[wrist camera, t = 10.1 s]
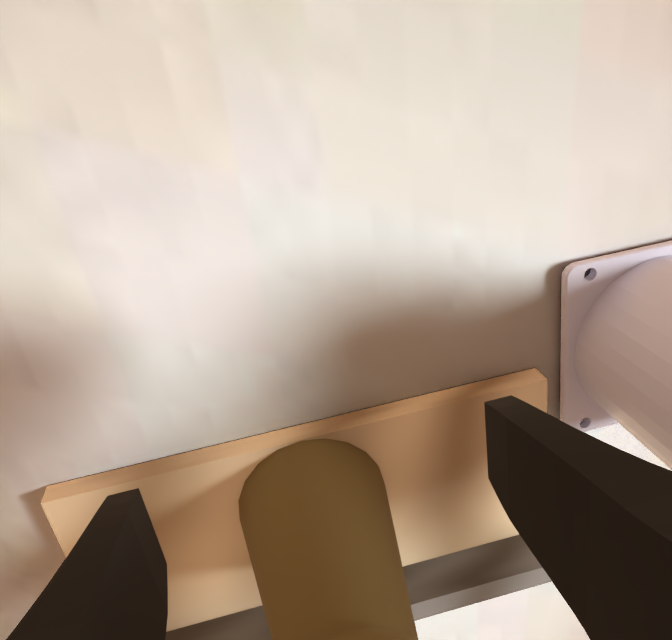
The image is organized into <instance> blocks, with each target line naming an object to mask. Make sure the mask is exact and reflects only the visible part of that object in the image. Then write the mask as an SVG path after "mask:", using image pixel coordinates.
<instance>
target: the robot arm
mask: <svg viewBox="0 0 672 640" xmlns="http://www.w3.org/2000/svg"><path fill="white" fill-rule="evenodd" d="M589 268H591V271H590V274H589V275H588V276H586V277H584V274H585V272H586V271H587V269H589ZM484 408H485V426H486V445H487V464H488V479H489V481H490V483H491V485H492V487H493V489H494V491H495V493H496V495H497V497H498V499H499V501H500V503H501V505H502V506H503V508H504V510H505V512H506V514H507V516H508V518H509V519H510V521H511V523H512V524H513V525H514V527H515V528H516V530H517V531H518V533H519V534H520V536H521V537H522V539H523V540H524V542H525V543H526V545H527V546H528V547H529V549H530V550H531V552H532V553H533V555H534V556H535V558H536V559H537V560H538V562H539V563H540V565H541V566H542V568H543V569H544V570H545V572H546V573H547V575H548V576H549V578H550V579H551V580H552V582H553V583H554V585H555V586H556V588H557V589H558V591H559V592H560V593H561V595H562V596H563V598H564V599H565V601H566V602H567V603H568V605H569V606H570V608H571V609H572V611H573V612H574V614H575V615H576V617H577V619H578V620H579V622H580V623H581V625H582V626H583V628H584V629H585V631H586V633H587V635H588V636H589V638H590V640H672V471H670V470H667V469H665V468H662V467H660V466H657V465H655V464H652V463H650V462H647V461H645V460H643V459H640V458H638V457H636V456H634V455H631V454H629V453H627V452H624V451H622V450H620V449H618V448H615V447H613V446H611V445H609V444H607V443H605V442H603V441H600V440H598V439H596V438H594V437H592V436H590V435H588V434H586V433H584V432H585V431H589V430H593V429H596V428H600V427H604V426H608V425H612V424H616V423H619V424H621V425H622V426H623V427H624V428H625V429H626V430H627V431H628V432H630V433H631V434H632V435H633V436H634V437H635V438H636V439H637V440H639V441H640V442H641V443H642V444H643V445H644V446H645V447H647V448H648V449H649V450H650V451H651V452H652V453H653V454H654V455H656V456H657V457H658V458H659V459H660V460H661V461H662V462H663V463H665V464H666V465H667V466H668V467H669V468H670V469H671V470H672V240H671V241H667V242H662V243H658V244H653V245H649V246H644V247H640V248H635V249H631V250H626V251H622V252H617V253H613V254H608V255H604V256H599V257H595V258H590V259H586V260H581V261H577V262H573V263H571V264H569V265H568V266H566V267H565V269H564V271H563V272H562V287H561V366H560V420H559V419H557V418H555V417H553V416H551V415H549V414H547V413H546V412H544V411H542V410H540V409H538V408H536V407H534V406H532V405H530V404H528V403H526V402H524V401H522V400H520V399H518V398H516V397H514V396H512V395H510V396H506V397H502V398H498V399H494V400H490V401H486V402H484ZM584 418H585V420H584V421H583V422H581V420H582V419H584ZM580 422H581V423H580ZM167 618H168V581H167V562H166V559H165V557H164V554H163V551H162V549H161V546H160V543H159V541H158V538H157V535H156V533H155V530H154V527H153V525H152V522H151V519H150V517H149V514H148V511H147V509H146V506H145V503H144V501H143V498H142V495H141V493H140V490H139V488H137V489H133V490H129V491H124V492H120V493H116V494H112V495H108V496H107V497H106V499H105V500H104V502H103V503H102V504H101V506H100V507H99V509H98V510H97V512H96V513H95V515H94V516H93V518H92V519H91V521H90V522H89V524H88V526H87V527H86V529H85V530H84V532H83V533H82V535H81V536H80V538H79V539H78V541H77V542H76V544H75V545H74V547H73V548H72V550H71V551H70V553H69V554H68V556H67V557H66V559H65V560H64V562H63V563H62V565H61V566H60V568H59V569H58V570H57V572H56V573H55V575H54V576H53V578H52V579H51V581H50V582H49V584H48V585H47V586H46V588H45V589H44V591H43V592H42V593H41V595H40V596H39V597H38V599H37V600H36V601H35V603H34V604H33V605H32V607H31V608H30V609H29V611H28V612H27V613H26V615H25V616H24V617H23V619H22V620H21V621H20V623H19V624H18V625H17V627H16V628H15V629H14V630H13V632H12V633H11V634H10V635H9V637H8V638H7V639H6V640H165V638H166V628H167Z"/></svg>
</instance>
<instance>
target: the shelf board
mask: <svg viewBox="0 0 672 640" xmlns="http://www.w3.org/2000/svg"><path fill="white" fill-rule="evenodd" d="M510 395H512V396H514V397H516V398H518V399H520V400H522V401H524V402H526V403H528V404H530V405H532V406H534V407H536V408H538V409H540V410H542V411H544V412H546V413H547V378H546V377H545V376H543V375H542V374H541V373H540V372H539V371H538V370H537V369H536V368H532V369H528V370H524V371H520V372H516V373H512V374H508V375H503V376H499V377H495V378H491V379H487V380H483V381H479V382H475V383H470V384H466V385H462V386H458V387H454V388H450V389H446V390H441V391H437V392H433V393H429V394H425V395H421V396H417V397H413V398H408V399H404V400H400V401H396V402H392V403H388V404H384V405H380V406H375V407H371V408H367V409H363V410H359V411H355V412H351V413H347V414H342V415H338V416H334V417H330V418H326V419H322V420H318V421H314V422H309V423H305V424H301V425H297V426H293V427H289V428H285V429H281V430H276V431H272V432H268V433H264V434H260V435H256V436H252V437H247V438H243V439H239V440H235V441H231V442H227V443H223V444H219V445H214V446H210V447H206V448H202V449H198V450H194V451H190V452H186V453H181V454H177V455H173V456H169V457H165V458H161V459H157V460H153V461H148V462H144V463H140V464H136V465H132V466H128V467H124V468H120V469H115V470H111V471H107V472H103V473H99V474H95V475H91V476H87V477H82V478H78V479H74V480H70V481H66V482H62V483H58V484H53V485H49V486H47V487H46V490H45V493H44V495H43V498H42V501H41V503H40V504H41V506H42V508H43V510H44V512H45V515H46V517H47V519H48V521H49V523H50V525H51V527H52V529H53V532H54V534H55V536H56V538H57V540H58V542H59V544H60V547H61V549H62V551H63V553H64V555H65V557H67V556H68V554H69V553H70V551H71V550H72V548H73V547H74V545H75V544H76V542H77V541H78V539H79V538H80V536H81V535H82V533H83V532H84V530H85V529H86V527H87V526H88V524H89V522H90V521H91V519H92V518H93V516H94V515H95V513H96V512H97V510H98V509H99V507H100V506H101V504H102V503H103V502H104V500H105V499H106V497H107V496H108V495H112V494H116V493H120V492H124V491H129V490H133V489H137V488H139V490H140V493H141V495H142V498H143V501H144V503H145V506H146V509H147V511H148V514H149V517H150V519H151V522H152V525H153V527H154V530H155V533H156V535H157V538H158V541H159V543H160V546H161V549H162V551H163V554H164V557H165V559H166V562H167V581H168V618H167V628H166V638H165V640H272V638H271V634H270V631H269V627H268V623H267V619H266V616H265V612H264V608H263V605H262V601H261V597H260V593H259V590H258V586H257V582H256V578H255V575H254V571H253V567H252V564H251V560H250V556H249V552H248V549H247V545H246V541H245V538H244V534H243V530H242V526H241V523H240V517H239V503H238V500H239V497H240V494H241V491H242V488H243V485H244V482H245V480H246V479H247V478H248V476H249V475H250V474H251V472H252V471H253V470H254V469H255V467H256V466H257V465H258V463H260V462H261V461H263V460H264V459H265V458H267V457H268V456H269V455H271V454H272V453H274V452H275V451H276V450H278V449H281V448H283V447H286V446H288V445H291V444H294V443H296V442H299V441H304V440H313V439H322V438H326V439H332V440H338V441H344V442H348V443H350V444H352V445H354V446H356V447H358V448H360V449H362V450H364V451H365V452H367V454H368V455H369V456H370V457H371V458H372V459H373V460H374V461H375V462H376V464H377V465H378V466H379V468H380V471H381V474H382V477H383V480H384V483H385V487H386V492H387V497H388V501H389V506H390V511H391V515H392V520H393V525H394V529H395V534H396V539H397V543H398V548H399V553H400V557H401V562H402V567H403V571H404V576H405V581H406V585H407V590H408V595H409V599H410V604H411V609H412V613H413V618H414V621H415V620H419V619H422V618H426V617H429V616H433V615H436V614H440V613H443V612H447V611H450V610H454V609H457V608H461V607H464V606H468V605H471V604H474V603H478V602H481V601H485V600H488V599H492V598H495V597H499V596H502V595H506V594H509V593H513V592H516V591H520V590H523V589H527V588H530V587H534V586H537V585H541V584H544V583H547V582H551V581H552V580H551V579H550V578H549V576H548V575H547V573H546V572H545V570H544V569H543V568H542V566H541V565H540V563H539V562H538V560H537V559H536V558H535V556H534V555H533V553H532V552H531V550H530V549H529V547H528V546H527V545H526V543H525V542H524V540H523V539H522V537H521V536H520V534H519V533H518V531H517V530H516V528H515V527H514V525H513V524H512V523H511V521H510V519H509V518H508V516H507V514H506V512H505V510H504V508H503V506H502V505H501V503H500V501H499V499H498V497H497V495H496V493H495V491H494V489H493V487H492V485H491V483H490V481H489V479H488V464H487V445H486V426H485V408H484V402H486V401H490V400H494V399H498V398H502V397H506V396H510Z"/></svg>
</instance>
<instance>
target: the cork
mask: <svg viewBox="0 0 672 640" xmlns="http://www.w3.org/2000/svg"><path fill="white" fill-rule="evenodd" d="M238 503H239V517H240V523H241V526H242V530H243V534H244V538H245V541H246V545H247V549H248V552H249V556H250V560H251V564H252V567H253V571H254V575H255V578H256V582H257V586H258V590H259V593H260V597H261V601H262V605H263V608H264V612H265V616H266V619H267V623H268V627H269V631H270V634H271V638H272V640H418V637H417V632H416V627H415V623H414V618H413V613H412V609H411V604H410V599H409V595H408V590H407V585H406V581H405V576H404V571H403V567H402V562H401V557H400V553H399V548H398V543H397V539H396V534H395V529H394V525H393V520H392V515H391V511H390V506H389V501H388V497H387V492H386V487H385V483H384V480H383V477H382V474H381V471H380V468H379V466H378V465H377V464H376V462H375V461H374V460H373V459H372V458H371V457H370V456H369V455H368V454H367V452H365V451H364V450H362V449H360V448H358V447H356V446H354V445H352V444H350V443H348V442H344V441H338V440H332V439H326V438H322V439H313V440H304V441H299V442H296V443H294V444H291V445H288V446H286V447H283V448H281V449H278V450H276V451H275V452H274V453H272V454H271V455H269V456H268V457H267V458H265V459H264V460H263V461H261V462H260V463H258V465H257V466H256V467H255V469H254V470H253V471H252V472H251V474H250V475H249V476H248V478H247V479H246V480H245V482H244V485H243V488H242V491H241V494H240V497H239V500H238Z"/></svg>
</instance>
